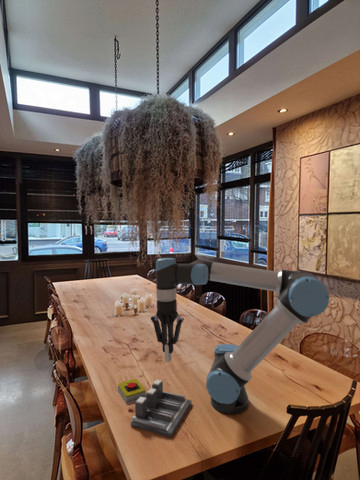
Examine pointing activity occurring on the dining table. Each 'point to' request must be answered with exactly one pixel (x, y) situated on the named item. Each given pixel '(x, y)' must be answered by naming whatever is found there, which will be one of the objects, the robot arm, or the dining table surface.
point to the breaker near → (141, 408)
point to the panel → (164, 415)
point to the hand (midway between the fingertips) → (168, 360)
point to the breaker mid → (152, 398)
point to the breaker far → (158, 388)
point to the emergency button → (131, 391)
